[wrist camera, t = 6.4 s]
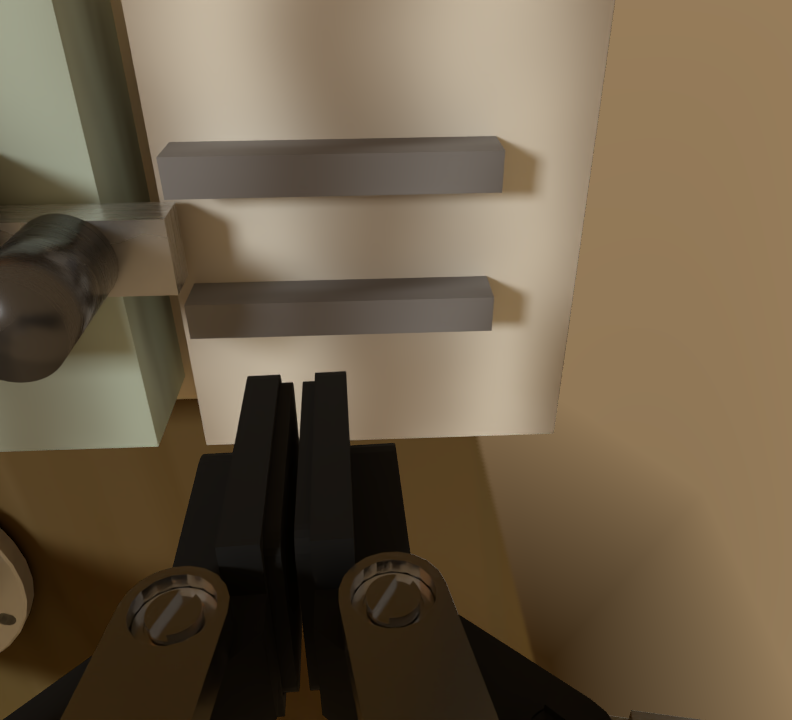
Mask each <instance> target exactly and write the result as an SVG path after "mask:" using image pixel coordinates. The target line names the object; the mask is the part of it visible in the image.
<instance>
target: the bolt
mask: <svg viewBox="0 0 792 720" xmlns="http://www.w3.org/2000/svg"><path fill="white" fill-rule="evenodd" d="M187 276H188V270H187V264H186V259H185V253H184V248H183V242H182V237H181V231H180V226H179V220H178V214H177V209H176V203H175V202H146V203H99V204H53V205H6V206H0V380H3V381H7V382H15V383H25V382H33V381H38V380H41V379H44V378H46V377H48V376H50V375H51V374H53V373H54V372H56V371H57V370H58V369H59V368H60V366H61V365H62V364H63V362H64V361H65V359H66V358H67V356H68V355H69V353H70V352H71V350H72V349H73V347H74V346H75V344H76V343H77V341H78V340H79V338H80V337H81V335H82V334H83V332H84V331H85V329H86V328H87V326H88V325H89V323H90V322H91V320H92V319H93V317H94V316H95V314H96V313H97V311H98V310H99V308H100V307H101V305H102V304H103V302H104V301H105V299H106V298H107V297H127V296H165V295H179V293H180V291H181V289H182V287H183V285H184V283H185V281H186V279H187Z"/></svg>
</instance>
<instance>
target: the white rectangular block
mask: <svg viewBox="0 0 792 720" xmlns="http://www.w3.org/2000/svg"><path fill="white" fill-rule="evenodd" d="M614 5H615V0H0V206H6V205H53V204H99V203H146V202H175V203H176V209H177V214H178V220H179V226H180V231H181V237H182V242H183V248H184V253H185V259H186V264H187V270H188V276H187V279H186V281H185V283H184V285H183V287H182V289H181V291H180V293H179V295H165V296H127V297H107V298H106V299H105V301H104V302H103V304H102V305H101V307H100V308H99V310H98V311H97V313H96V314H95V316H94V317H93V319H92V320H91V322H90V323H89V325H88V326H87V328H86V329H85V331H84V332H83V334H82V335H81V337H80V338H79V340H78V341H77V343H76V344H75V346H74V347H73V349H72V350H71V352H70V353H69V355H68V356H67V358H66V359H65V361H64V362H63V364H62V365H61V366H60V368H59V369H58V370H57V371H56V372H54V373H53V374H51V375H50V376H48V377H46V378H44V379H41V380H38V381H33V382H25V383H15V382H7V381H3V380H0V452H5V451H35V450H65V449H96V448H126V447H156V446H159V444H160V441H161V438H162V436H163V433H164V431H165V428H166V425H167V423H168V420H169V417H170V415H171V412H172V410H173V407H174V404H175V402H176V399H198V402H199V408H200V413H201V418H202V423H203V428H204V434H205V439H206V444H207V445H217V444H235V438H236V433H237V428H238V423H239V417H240V412H241V407H242V401H243V396H244V391H245V385H246V380H247V377H248V376H260V375H279V374H280V376H281V380H282V383H286V382H293V384H294V392H295V402H296V413H297V423H298V433H299V436H300V419H301V401H302V384H303V382H305V381H315V373H318V372H338V371H346V376H347V395H348V414H349V433H350V440H368V439H399V438H429V437H459V436H486V435H487V436H489V435H520V434H550V433H554V426H555V419H556V413H557V406H558V405H557V404H558V398H559V391H560V384H561V377H562V370H563V363H564V356H565V349H566V342H567V335H568V328H569V321H570V314H571V307H572V300H573V292H574V286H575V279H576V272H577V264H578V258H579V250H580V244H581V237H582V229H583V222H584V216H585V209H586V201H587V194H588V187H589V181H590V174H591V167H592V159H593V153H594V146H595V139H596V131H597V125H598V118H599V109H600V103H601V96H602V89H603V82H604V75H605V68H606V61H607V54H608V47H609V40H610V33H611V26H612V19H613V12H614Z"/></svg>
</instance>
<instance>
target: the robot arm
mask: <svg viewBox="0 0 792 720" xmlns="http://www.w3.org/2000/svg"><path fill="white" fill-rule="evenodd" d="M33 598H34V588H33V578H32V575H31V572H30V570H29V567H28V565H27V562H26V560H25V558H24V557H23V555H22V554H21V552H20V551H19V549H18V548H17V546H16V545H15V543H14V542H13V540H12V539H11V538H10V537H9V536H8V535H7V534H6V533H5V532H4V531H3V530H2V529H1V528H0V652H2V651H3V650H4V649H6V648H7V647H9V646H10V645H11V643H12V642H13V641H14V640H15V638H16V637H17V636H18V635H19V634H20V632H21V630H22V628H23V626H24V624H25V622H26V620H27V618H28V615H29V613H30V611H31V607H32V603H33ZM302 623H303V632H304V640H305V649H306V658H307V667H308V676H309V685H310V690H320V695H321V705H322V715H323V716H325V717H326V718H327V719H328V720H698V719H692V718H684V717H676V716H669V715H662V714H655V713H648V712H641V711H633V710H631V712H630V716H629V718H623V717H615V716H609V715H608V714H607V712H606V711H604V710H603V709H602V708H601V707H600V706H598V705H597V704H596V703H595V702H593V701H592V700H591V699H589V698H588V697H587V696H585V695H583V694H582V693H580V692H579V691H577V690H575V689H574V688H572V687H571V686H569V685H568V684H566V683H565V682H563V681H562V680H560V679H558V678H557V677H555V676H554V675H552V674H551V673H549V672H548V671H546V670H544V669H543V668H541V667H540V666H538V665H537V664H535V663H534V662H532V661H530V660H529V659H527V658H526V657H524V656H523V655H521V654H519V653H518V652H516V651H515V650H513V649H512V648H510V647H509V646H507V645H505V644H504V643H502V642H501V641H499V640H498V639H496V638H495V637H493V636H491V635H490V634H488V633H487V632H485V631H484V630H482V629H481V628H479V627H477V626H476V625H474V624H473V623H471V622H470V621H468V620H466V619H465V618H463V617H462V616H460V615H459V614H458V612H457V610H456V607H455V605H454V602H453V599H452V597H451V594H450V592H449V589H448V586H447V584H446V581H445V580H444V578H443V577H442V575H441V573H440V572H439V570H438V569H437V568H436V567H434V566H433V565H432V564H431V563H430V562H428V561H427V560H425V559H423V558H420V557H418V556H416V555H414V554H410V548H409V541H408V534H407V526H406V519H405V512H404V504H403V497H402V490H401V483H400V475H399V468H398V461H397V454H396V447H395V444H394V443H387V444H370V445H353V446H350V433H349V414H348V395H347V376H346V371H338V372H318V373H315V381H305V382H303V384H302V401H301V419H300V436H299V433H298V423H297V413H296V402H295V392H294V384H293V382H286V383H282V380H281V376H280V374H279V375H260V376H248V377H247V380H246V385H245V391H244V396H243V401H242V407H241V412H240V417H239V423H238V428H237V433H236V438H235V444H234V449H233V453H216V454H203V455H202V456H201V458H200V461H199V464H198V468H197V472H196V476H195V480H194V484H193V488H192V492H191V496H190V500H189V504H188V508H187V512H186V516H185V520H184V524H183V528H182V532H181V536H180V540H179V544H178V548H177V552H176V556H175V560H174V564H173V567H172V568H169V569H165V570H162V571H159V572H156V573H154V574H152V575H150V576H148V577H147V578H145V579H143V580H141V581H140V582H139V583H137V584H136V585H135V586H134V587H133V588H132V589H130V590H129V591H128V592H127V593H126V595H125V596H124V598H123V599H122V600H121V602H120V603H119V605H118V606H117V608H116V610H115V612H114V614H113V616H112V618H111V620H110V622H109V624H108V626H107V628H106V630H105V632H104V634H103V636H102V638H101V640H100V642H99V644H98V646H97V648H96V650H95V652H94V654H93V655H92V656H91V657H90V658H88V659H87V660H85V661H84V662H83V663H81V664H80V665H78V666H77V667H76V668H74V669H73V670H71V671H70V672H69V673H67V674H66V675H65V676H63V677H62V678H60V679H59V680H58V681H56V682H55V683H53V684H52V685H51V686H49V687H48V688H46V689H45V690H44V691H42V692H41V693H39V694H38V695H37V696H35V697H34V698H32V699H31V700H30V701H28V702H27V703H25V704H24V705H23V706H21V707H20V708H19V709H17V710H16V711H14V712H13V713H12V714H10V715H9V716H7V717H6V718H5V719H3V720H276V719H277V717H282V716H285V704H286V692H298V691H299V688H300V666H301V639H302Z"/></svg>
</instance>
